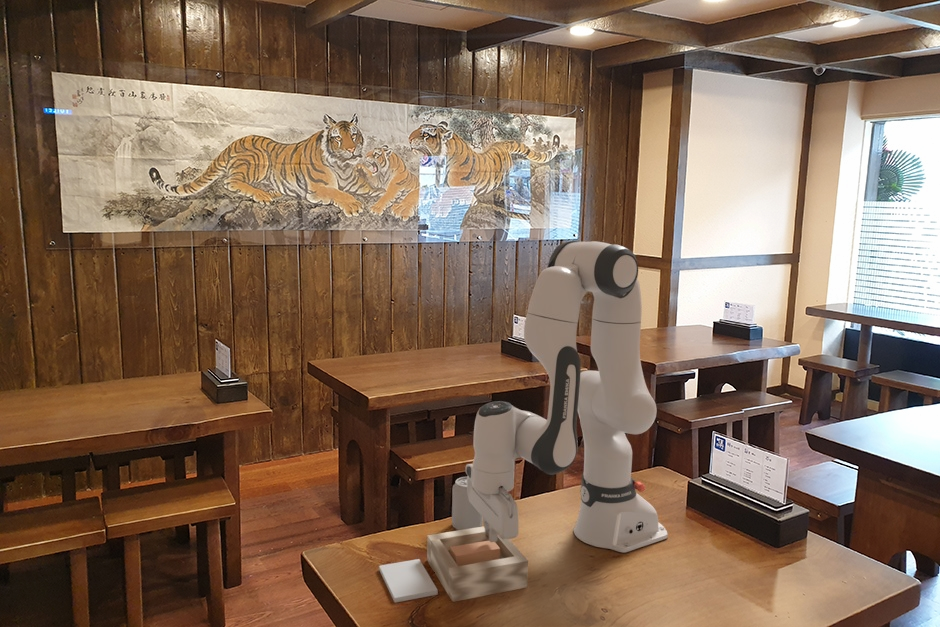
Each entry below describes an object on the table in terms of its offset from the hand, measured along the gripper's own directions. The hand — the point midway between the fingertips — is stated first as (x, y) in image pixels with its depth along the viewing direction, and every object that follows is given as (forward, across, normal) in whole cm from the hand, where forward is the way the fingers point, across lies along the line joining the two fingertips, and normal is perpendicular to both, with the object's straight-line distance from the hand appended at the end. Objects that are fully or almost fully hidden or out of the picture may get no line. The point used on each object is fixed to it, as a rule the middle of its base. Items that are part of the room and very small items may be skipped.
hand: (490, 539), depth 153 cm
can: (+8, +20, -2) cm, 22 cm away
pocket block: (+8, 0, +4) cm, 8 cm away
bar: (+4, 0, +4) cm, 6 cm away
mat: (+8, +2, +18) cm, 20 cm away
